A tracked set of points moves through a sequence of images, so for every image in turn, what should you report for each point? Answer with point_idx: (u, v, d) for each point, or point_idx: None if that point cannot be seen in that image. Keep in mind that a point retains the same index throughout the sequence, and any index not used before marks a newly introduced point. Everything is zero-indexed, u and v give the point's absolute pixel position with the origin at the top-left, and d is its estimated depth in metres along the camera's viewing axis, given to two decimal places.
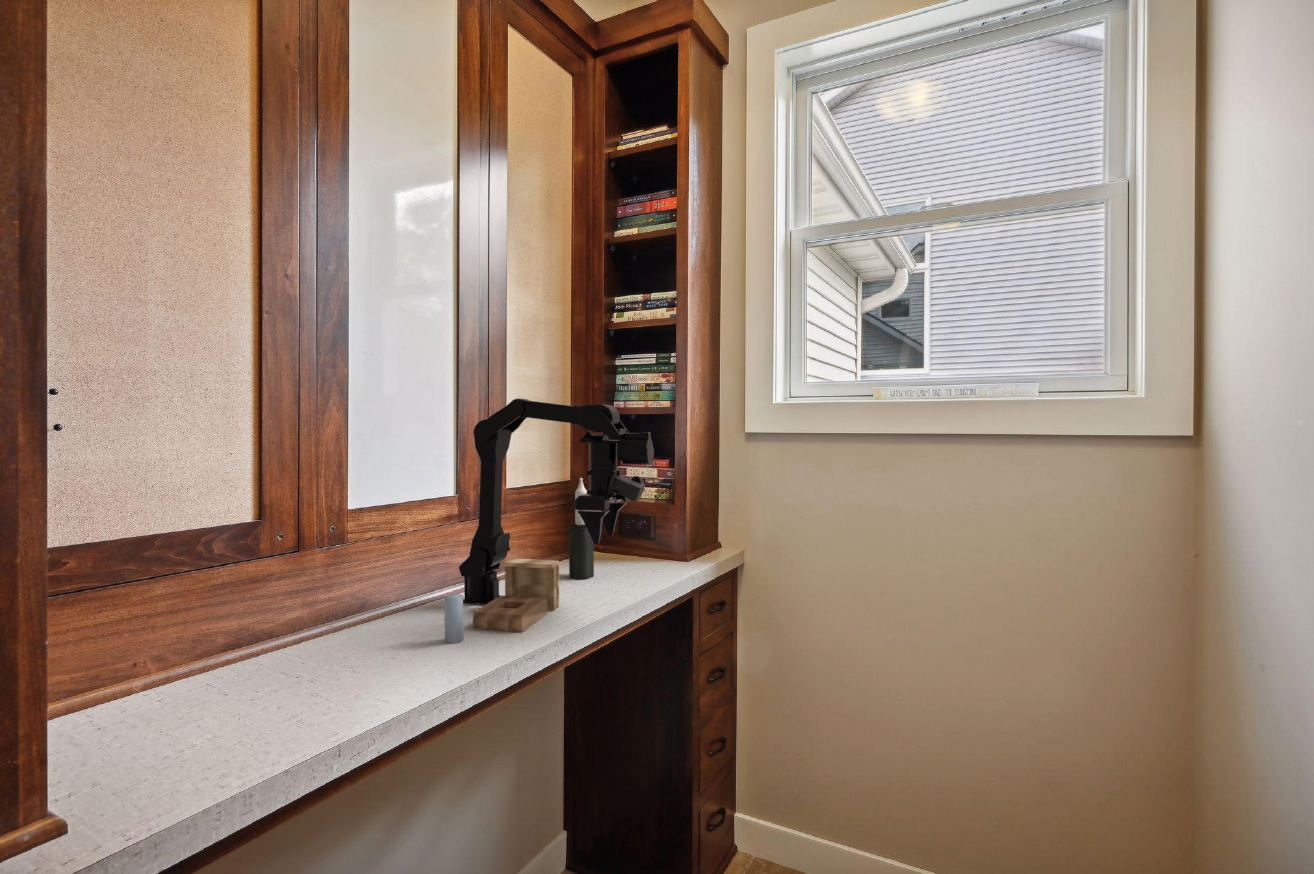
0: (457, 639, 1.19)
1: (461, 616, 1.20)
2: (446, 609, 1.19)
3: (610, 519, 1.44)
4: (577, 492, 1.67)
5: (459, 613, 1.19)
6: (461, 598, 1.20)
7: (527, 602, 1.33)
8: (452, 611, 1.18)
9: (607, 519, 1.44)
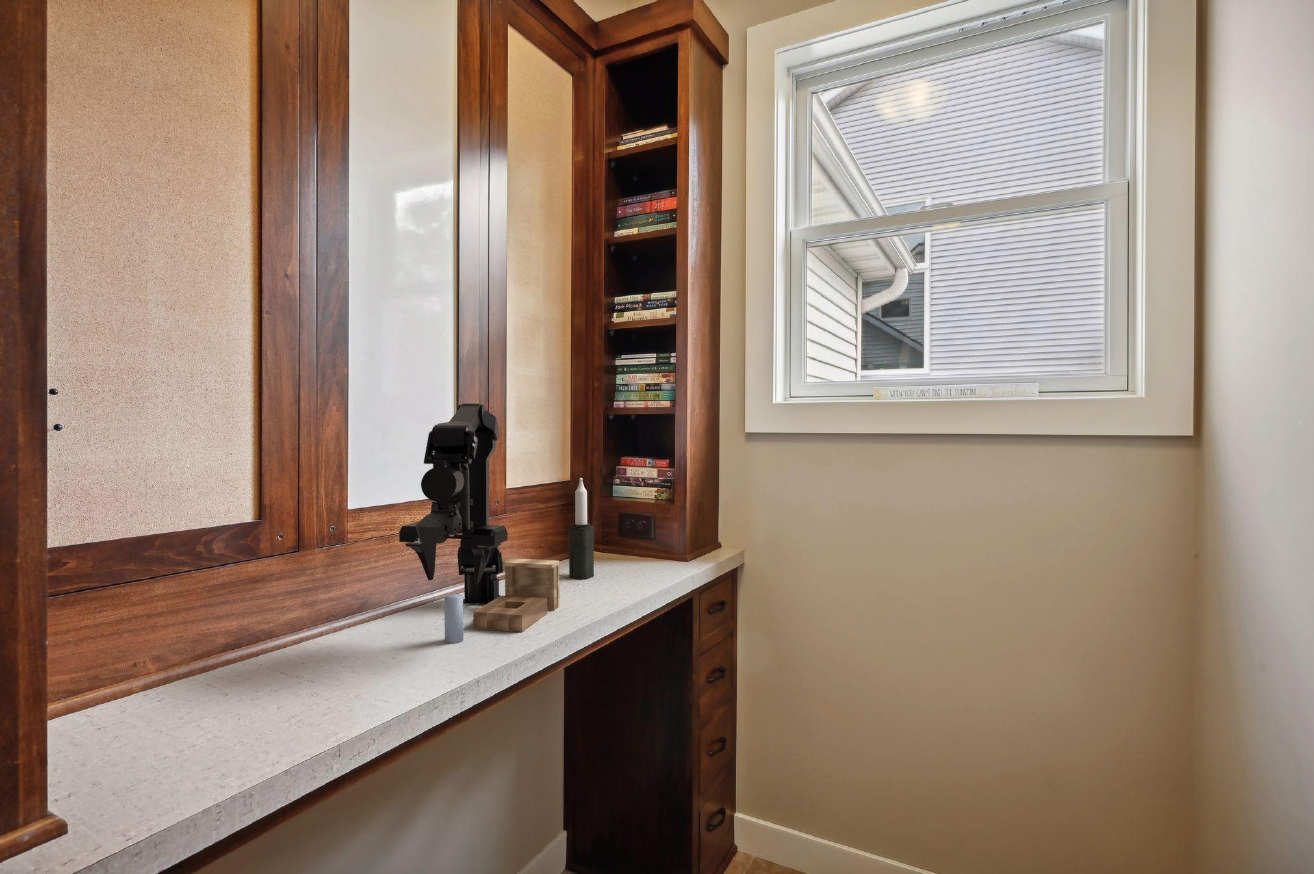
0: (457, 639, 1.19)
1: (461, 616, 1.20)
2: (446, 609, 1.19)
3: None
4: (577, 492, 1.67)
5: (459, 613, 1.19)
6: (461, 598, 1.20)
7: (527, 602, 1.33)
8: (452, 611, 1.18)
9: None
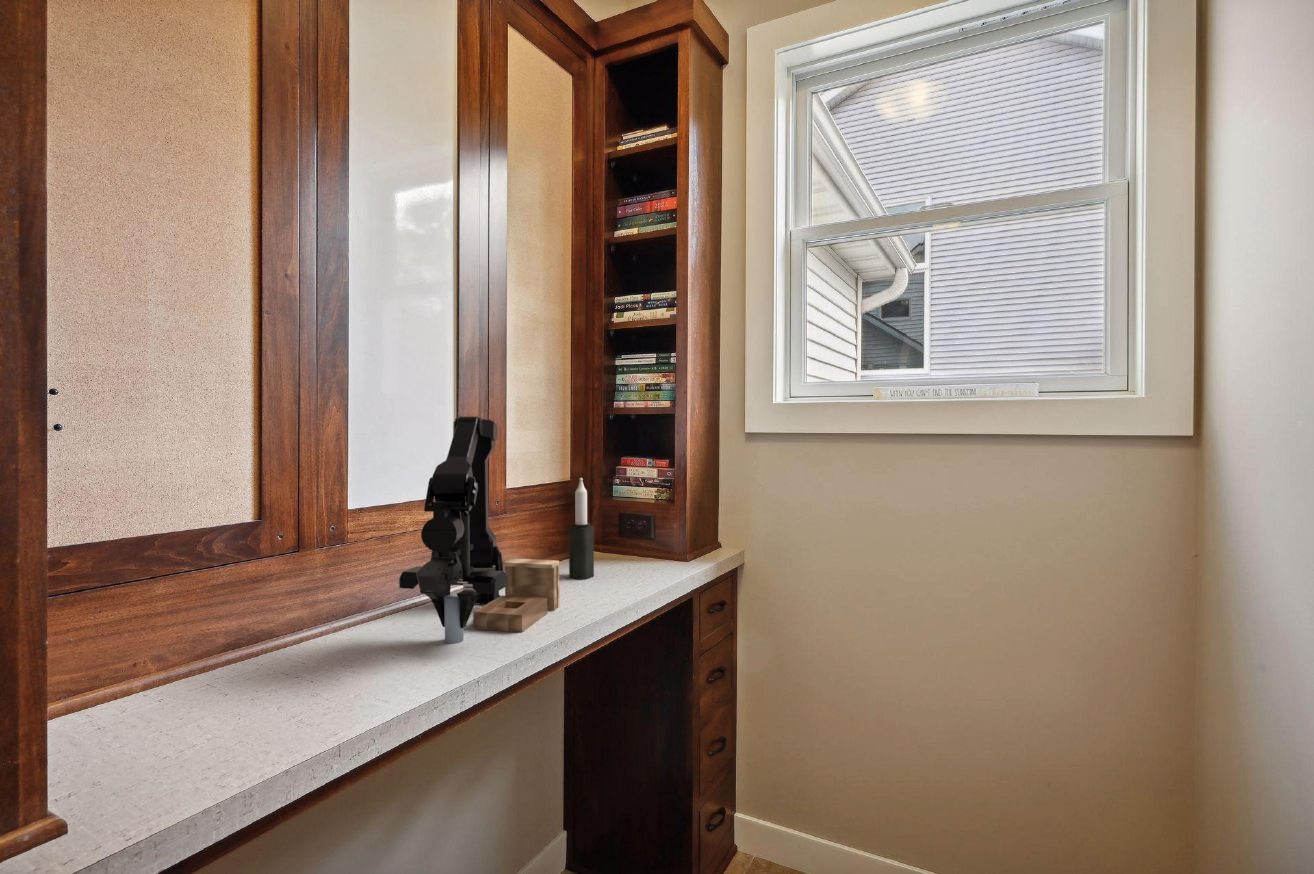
0: (457, 639, 1.19)
1: None
2: (446, 609, 1.19)
3: None
4: (577, 492, 1.67)
5: (459, 613, 1.19)
6: None
7: (527, 602, 1.33)
8: (452, 611, 1.18)
9: None
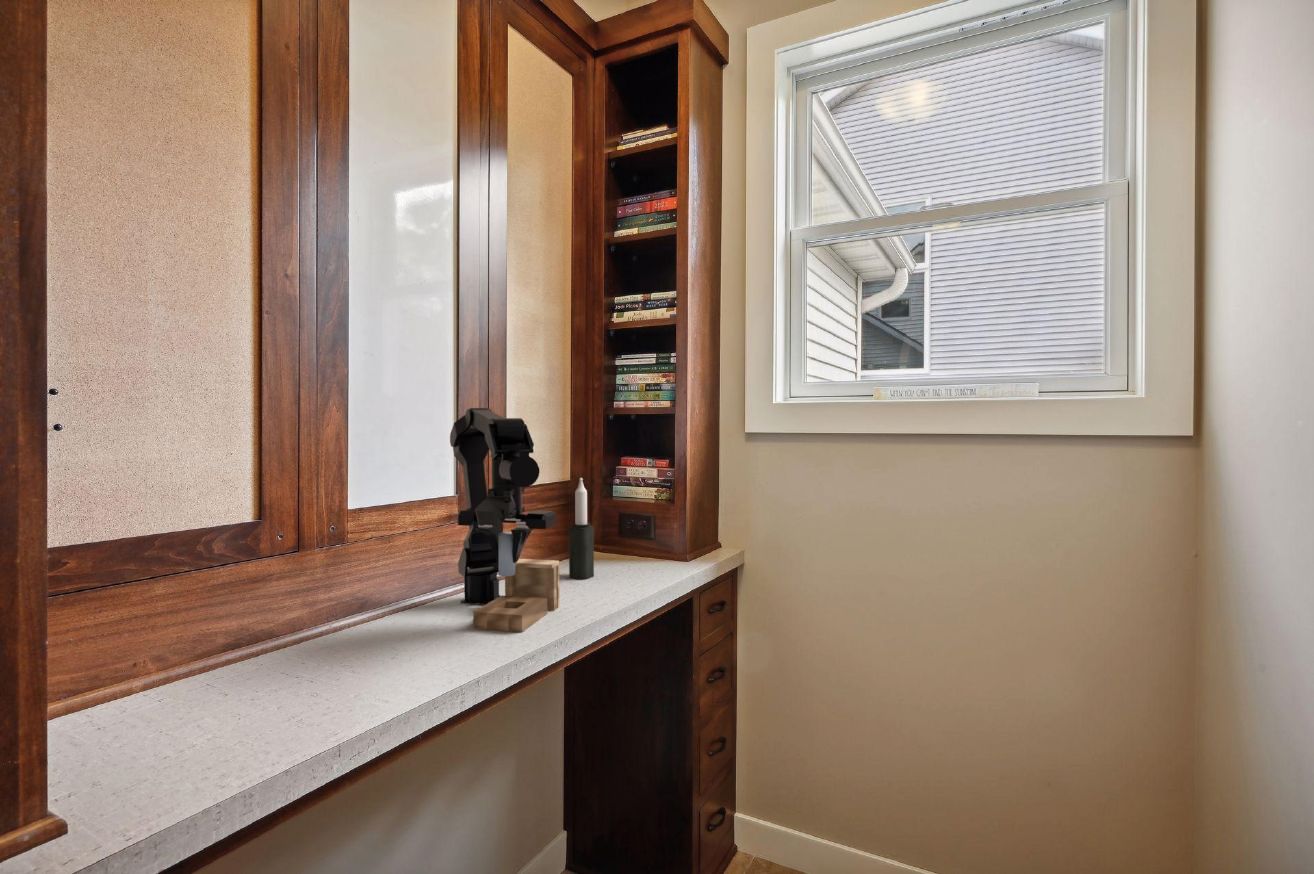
0: (510, 572, 1.29)
1: None
2: (500, 545, 1.29)
3: None
4: (577, 492, 1.67)
5: (512, 549, 1.29)
6: None
7: (527, 602, 1.33)
8: (506, 546, 1.29)
9: None
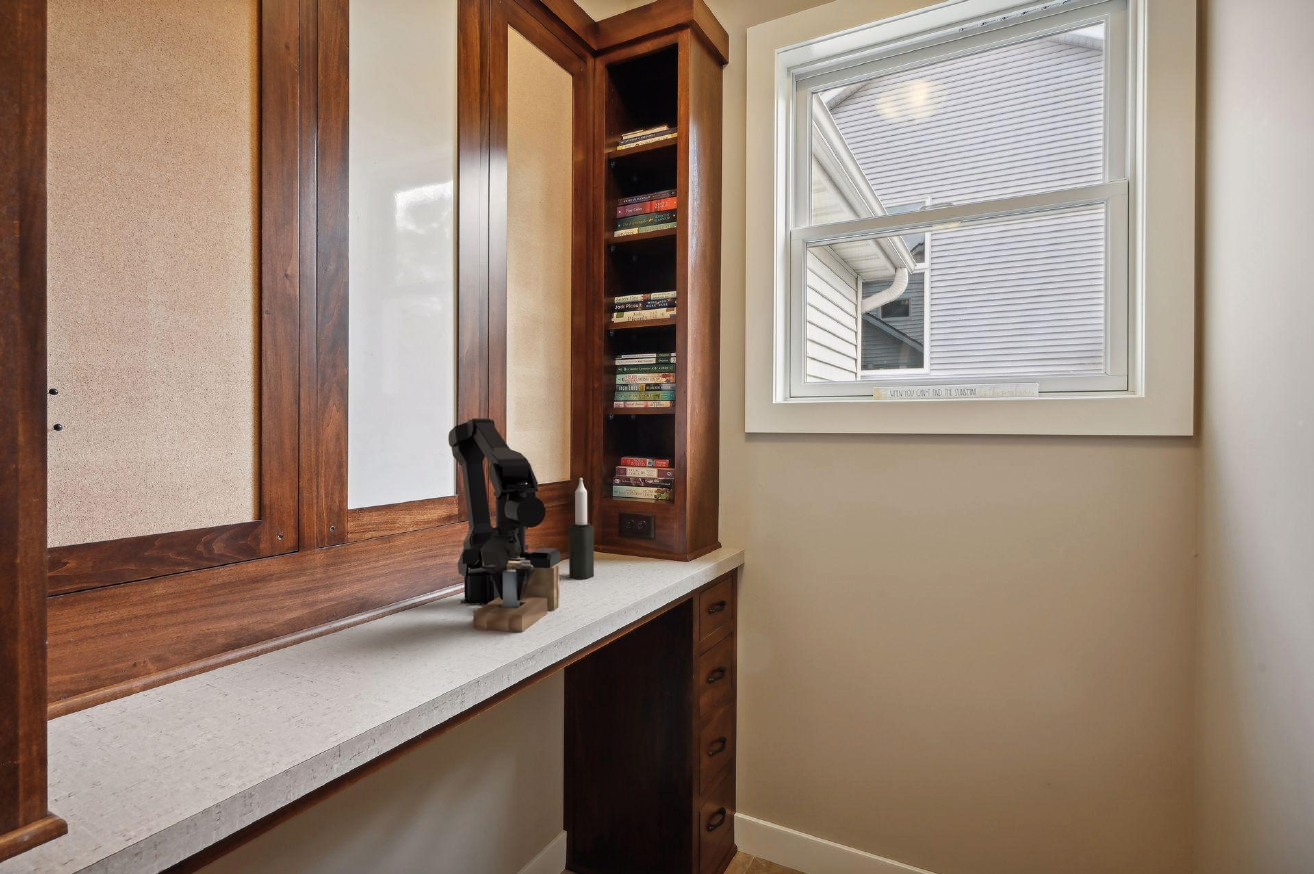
0: None
1: None
2: (504, 583, 1.30)
3: None
4: (577, 492, 1.67)
5: (516, 587, 1.30)
6: None
7: (527, 602, 1.33)
8: (510, 584, 1.30)
9: None
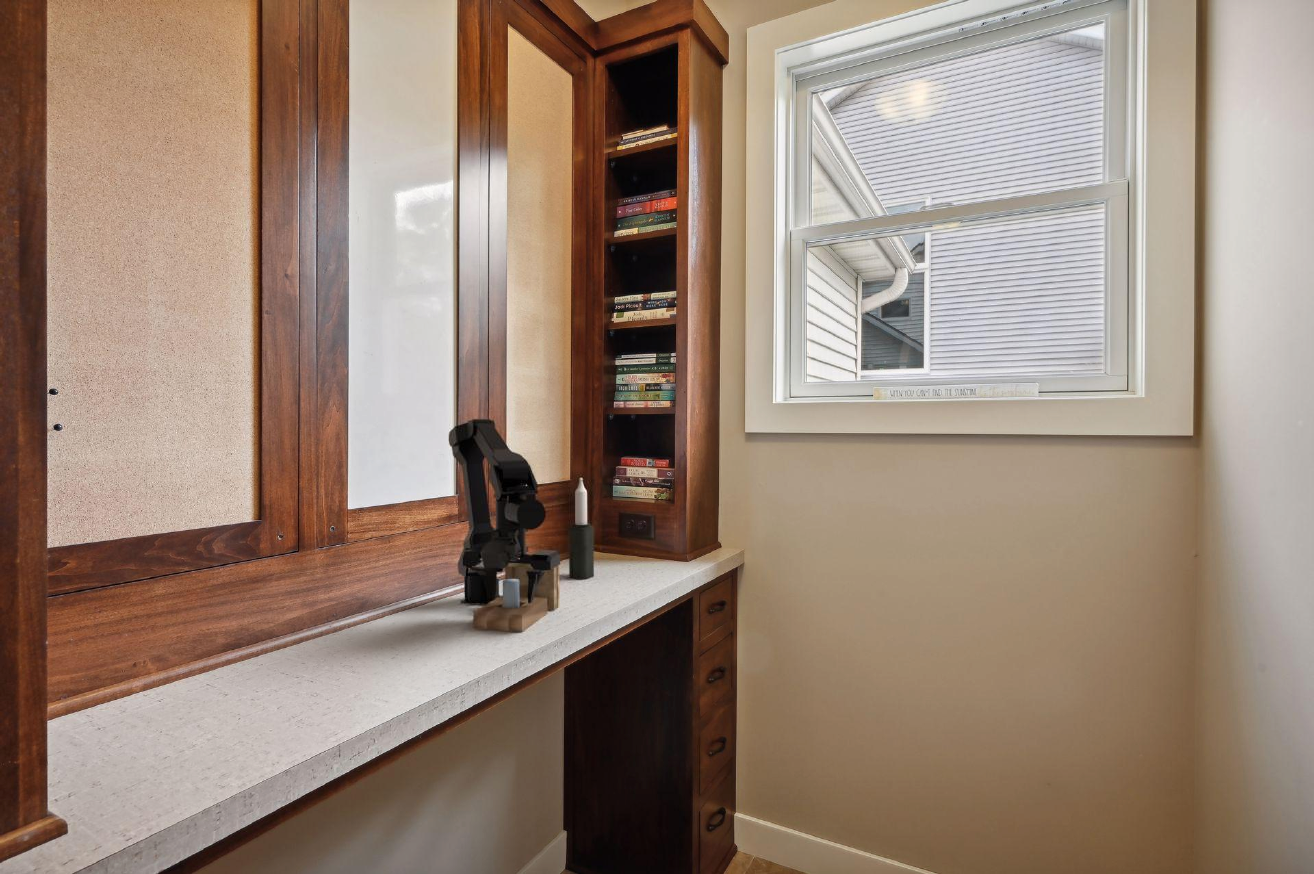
0: None
1: (518, 599, 1.31)
2: (504, 592, 1.30)
3: None
4: (577, 492, 1.67)
5: (516, 596, 1.30)
6: (518, 582, 1.31)
7: (527, 602, 1.33)
8: (510, 594, 1.30)
9: None
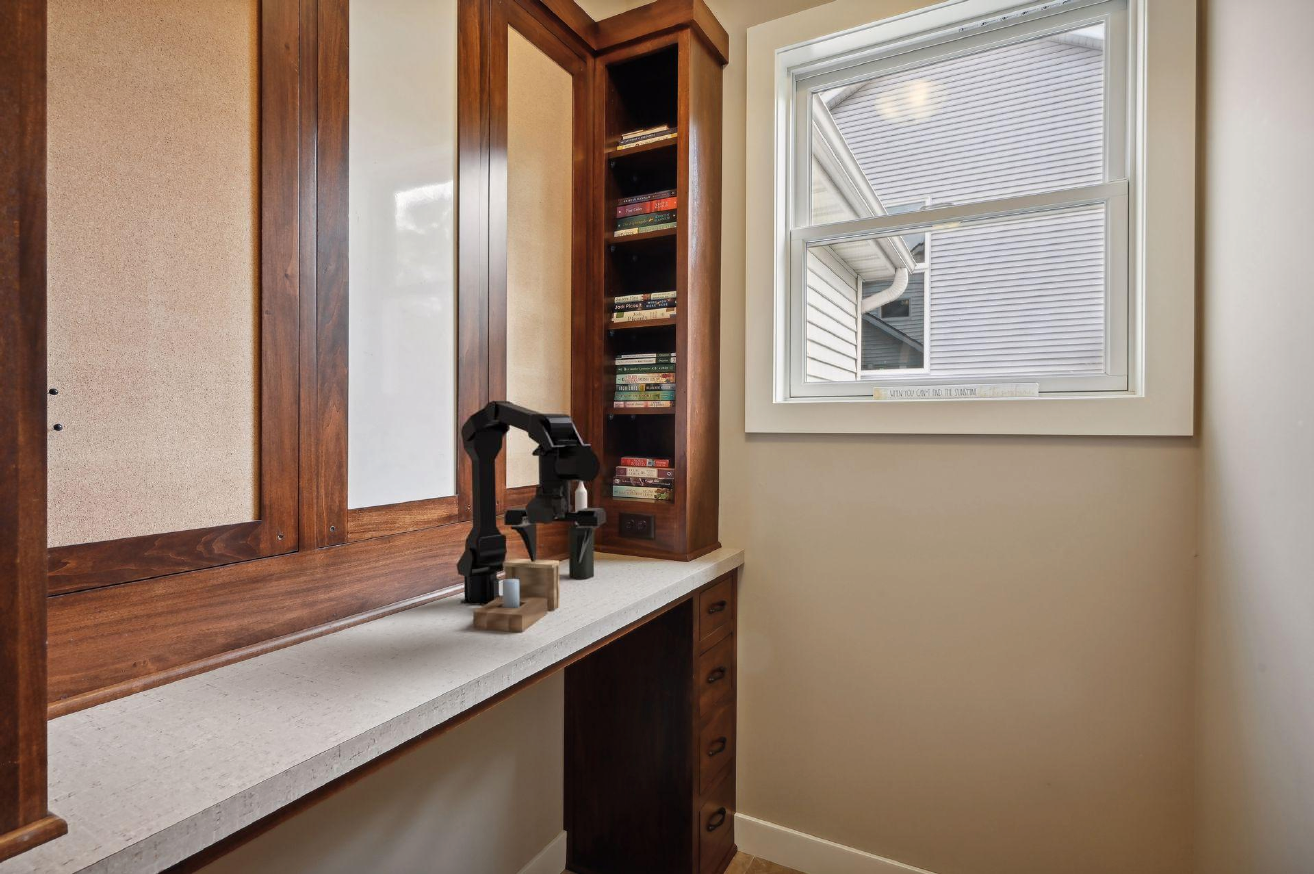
0: None
1: (518, 599, 1.31)
2: (504, 592, 1.30)
3: None
4: (577, 492, 1.67)
5: (516, 596, 1.30)
6: (518, 582, 1.31)
7: (527, 602, 1.33)
8: (510, 594, 1.30)
9: None
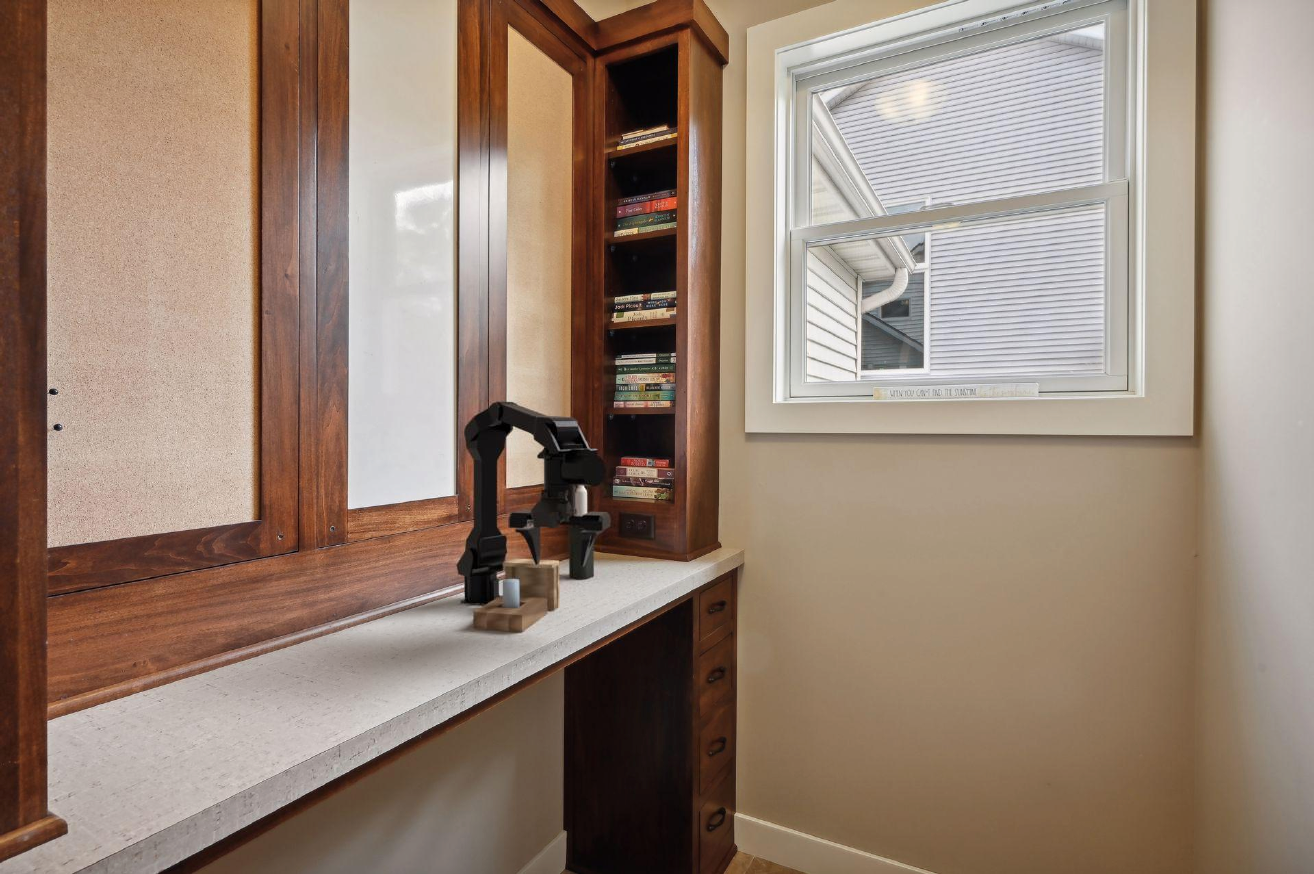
0: None
1: (518, 599, 1.31)
2: (505, 592, 1.30)
3: None
4: (577, 492, 1.67)
5: (516, 596, 1.30)
6: (518, 582, 1.31)
7: (527, 602, 1.33)
8: (510, 594, 1.30)
9: None
